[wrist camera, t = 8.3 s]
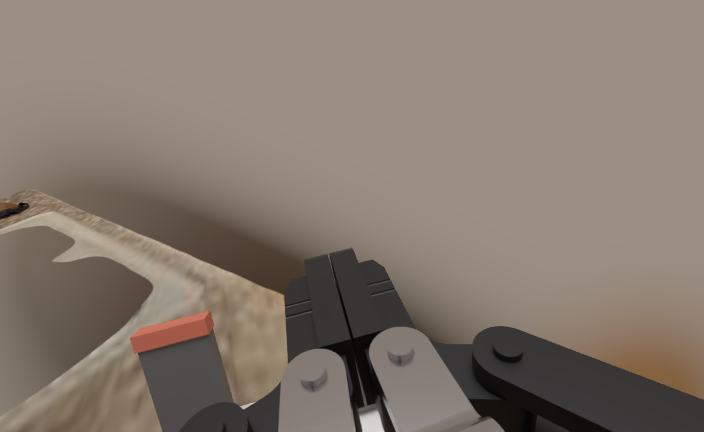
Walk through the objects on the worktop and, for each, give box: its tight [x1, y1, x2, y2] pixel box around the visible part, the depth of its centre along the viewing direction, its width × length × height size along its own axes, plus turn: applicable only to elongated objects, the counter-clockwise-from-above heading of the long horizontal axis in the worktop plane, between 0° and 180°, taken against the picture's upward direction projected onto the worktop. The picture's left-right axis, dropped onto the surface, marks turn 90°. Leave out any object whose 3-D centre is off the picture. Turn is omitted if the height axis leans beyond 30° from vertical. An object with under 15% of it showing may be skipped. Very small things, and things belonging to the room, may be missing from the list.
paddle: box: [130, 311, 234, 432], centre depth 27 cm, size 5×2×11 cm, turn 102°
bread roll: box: [0, 202, 29, 219], centre depth 104 cm, size 11×8×4 cm
